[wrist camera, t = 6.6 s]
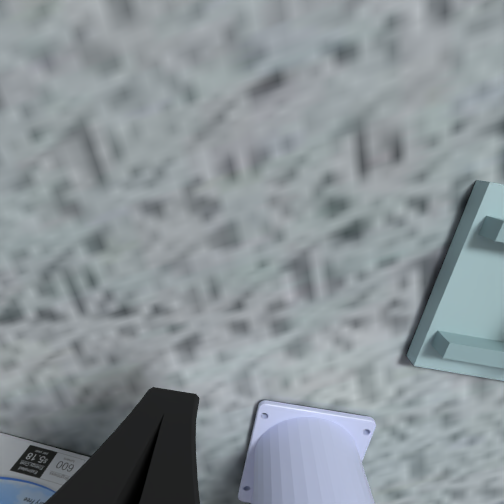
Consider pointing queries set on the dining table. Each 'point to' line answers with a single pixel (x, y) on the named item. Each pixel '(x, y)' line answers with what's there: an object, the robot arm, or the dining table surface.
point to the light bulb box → (33, 470)
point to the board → (468, 295)
